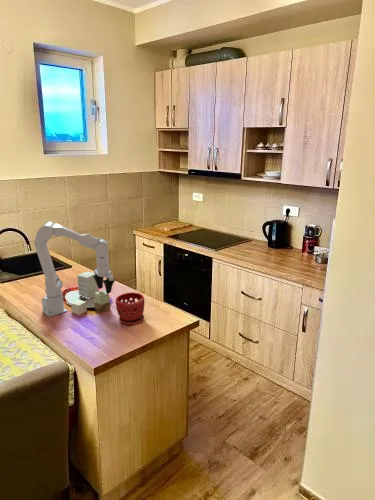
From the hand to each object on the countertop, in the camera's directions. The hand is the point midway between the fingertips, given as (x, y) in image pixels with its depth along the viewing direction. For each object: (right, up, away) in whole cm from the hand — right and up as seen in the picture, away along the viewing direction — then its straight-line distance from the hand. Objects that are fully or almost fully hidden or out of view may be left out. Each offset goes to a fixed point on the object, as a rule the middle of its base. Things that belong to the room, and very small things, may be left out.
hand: (104, 290), depth 179 cm
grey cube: (-12, -10, 0) cm, 16 cm away
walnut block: (-2, -10, +3) cm, 10 cm away
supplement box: (-13, -5, +18) cm, 23 cm away
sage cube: (-2, -6, +2) cm, 6 cm away
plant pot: (+14, -14, -9) cm, 22 cm away
